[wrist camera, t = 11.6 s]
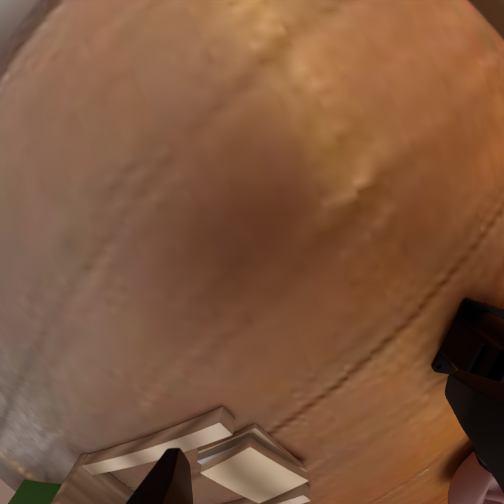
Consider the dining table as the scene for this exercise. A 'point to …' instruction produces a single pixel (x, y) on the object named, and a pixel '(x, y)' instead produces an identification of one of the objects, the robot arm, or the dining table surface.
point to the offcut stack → (252, 464)
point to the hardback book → (35, 493)
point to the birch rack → (147, 450)
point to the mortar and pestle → (474, 485)
